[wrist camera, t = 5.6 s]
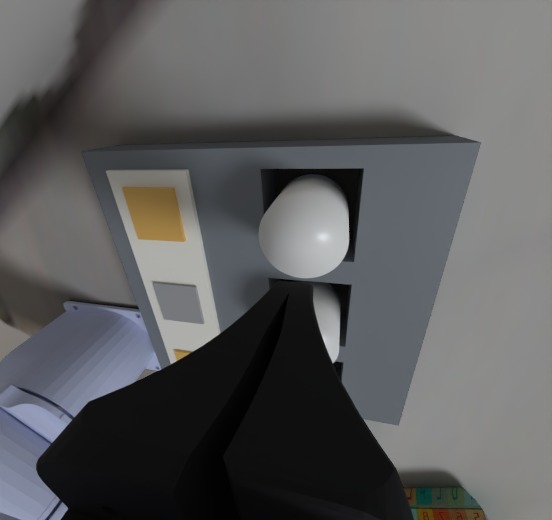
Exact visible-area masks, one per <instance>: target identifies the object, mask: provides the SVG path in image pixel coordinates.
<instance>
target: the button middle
mask: <svg viewBox="0 0 552 520" xmlns="http://www.w3.org/2000/svg"><path fill="white" fill-rule="evenodd" d="M292 282H297V283H308V284H311V285H312V286H313V287H314V288H313V303H314V309H315V314H316V318H317V322H318V325H319V329H320V332H321V335H322V338H323V341H324V343H325V346H326V349H327V351H328V354H329V356H330V358H331V360H332V363H334V362H335V361H336V359H337V357H338V354H339V337H340V298H339V295H338V293H337V291H336V290H335V289H334V288H333V287H332V286H331V285H330V284H328V283H325V282H313V281H301V280H294V281H292Z"/></svg>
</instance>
